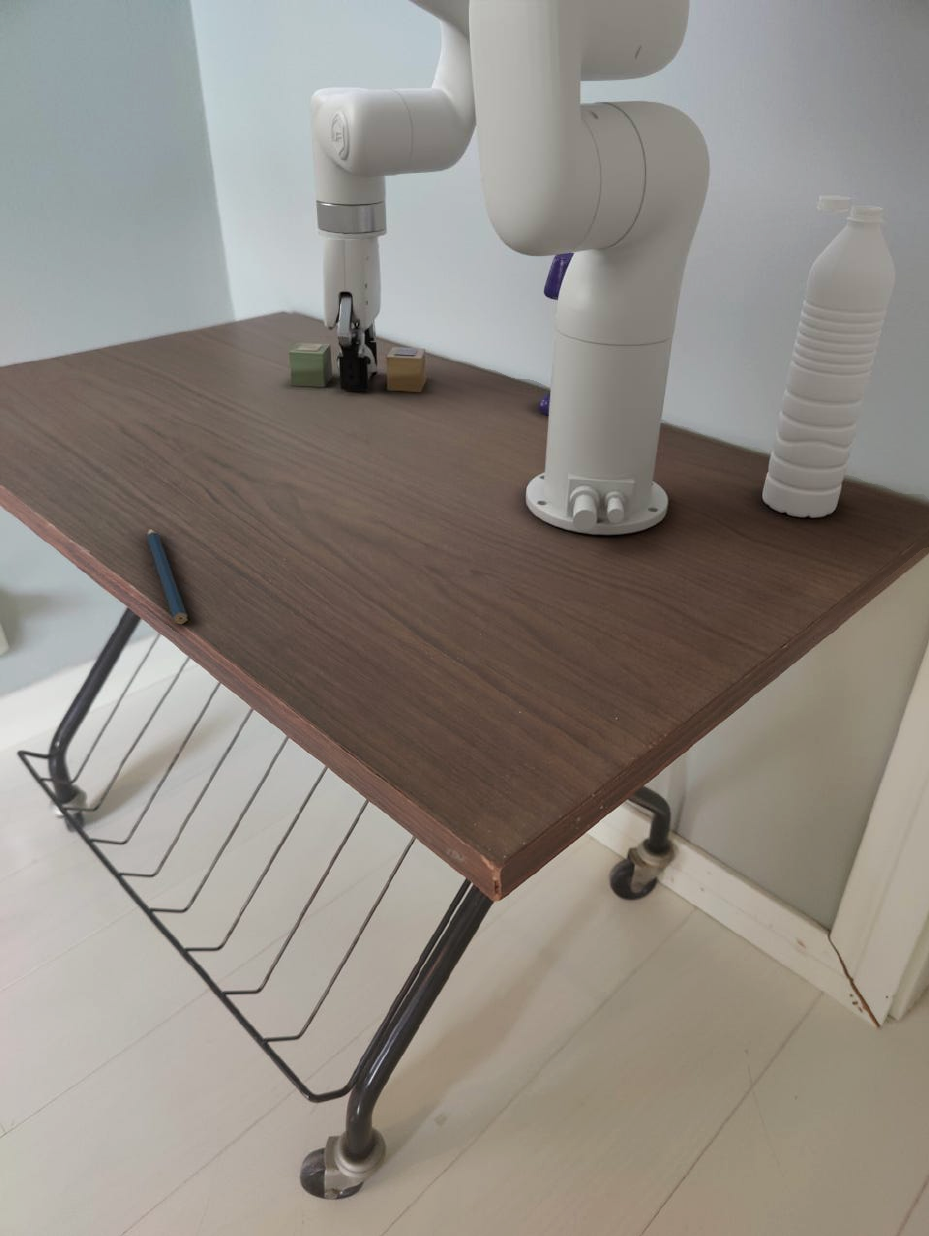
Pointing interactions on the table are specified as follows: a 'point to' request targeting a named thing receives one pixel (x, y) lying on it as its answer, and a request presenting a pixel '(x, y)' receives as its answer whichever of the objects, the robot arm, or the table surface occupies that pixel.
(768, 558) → the table surface
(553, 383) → the robot arm
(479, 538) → the table surface
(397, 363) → the block row
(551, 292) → the toy lamp
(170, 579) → the pencil
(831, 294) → the water bottle
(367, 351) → the figurine
